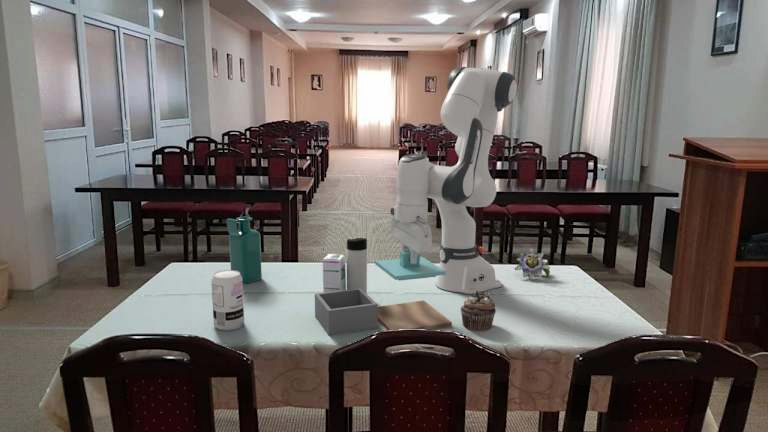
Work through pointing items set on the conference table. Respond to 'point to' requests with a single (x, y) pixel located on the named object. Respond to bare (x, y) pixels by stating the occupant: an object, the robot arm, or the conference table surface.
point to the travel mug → (357, 264)
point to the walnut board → (411, 316)
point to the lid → (409, 267)
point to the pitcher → (244, 249)
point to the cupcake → (478, 312)
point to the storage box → (345, 311)
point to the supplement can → (227, 300)
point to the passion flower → (532, 264)
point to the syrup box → (334, 273)
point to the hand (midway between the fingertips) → (409, 261)
